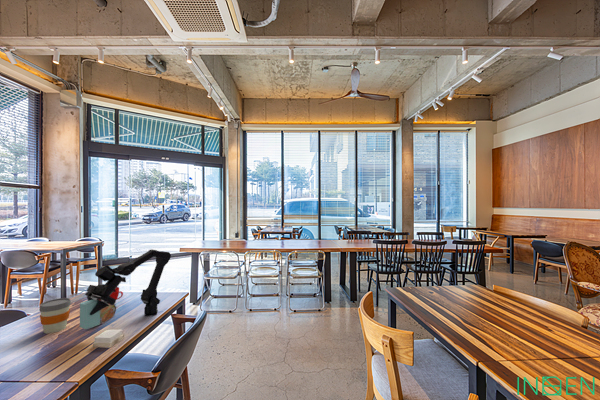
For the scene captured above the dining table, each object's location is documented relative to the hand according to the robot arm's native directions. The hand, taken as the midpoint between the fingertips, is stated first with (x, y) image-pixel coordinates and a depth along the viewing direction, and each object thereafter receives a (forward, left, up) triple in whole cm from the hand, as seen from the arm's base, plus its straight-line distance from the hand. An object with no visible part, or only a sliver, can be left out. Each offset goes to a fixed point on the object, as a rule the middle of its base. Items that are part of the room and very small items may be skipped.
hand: (86, 313), depth 129 cm
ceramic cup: (+2, -51, -14) cm, 53 cm away
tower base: (-11, +7, -14) cm, 19 cm away
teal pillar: (-1, -1, -7) cm, 7 cm away
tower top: (-11, +7, -12) cm, 17 cm away
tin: (-2, -23, -14) cm, 27 cm away
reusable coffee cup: (+20, -21, -14) cm, 32 cm away
